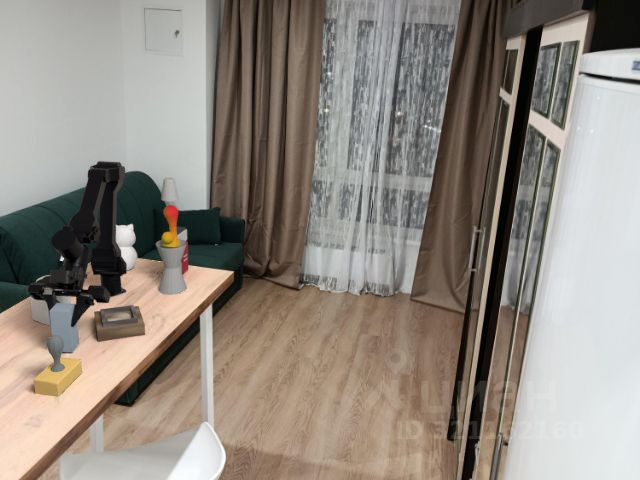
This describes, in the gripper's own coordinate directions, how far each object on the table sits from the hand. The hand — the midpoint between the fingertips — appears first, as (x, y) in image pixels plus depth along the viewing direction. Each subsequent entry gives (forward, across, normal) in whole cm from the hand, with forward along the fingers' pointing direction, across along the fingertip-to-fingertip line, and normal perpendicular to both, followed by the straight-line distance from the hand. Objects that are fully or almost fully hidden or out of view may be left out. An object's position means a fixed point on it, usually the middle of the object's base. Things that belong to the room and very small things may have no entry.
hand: (61, 326), depth 144 cm
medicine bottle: (-7, -10, +17) cm, 21 cm away
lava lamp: (-23, +18, +33) cm, 44 cm away
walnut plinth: (-4, +10, +14) cm, 18 cm away
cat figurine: (-33, -2, +43) cm, 54 cm away
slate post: (+4, 0, +6) cm, 7 cm away
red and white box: (-30, +17, +41) cm, 53 cm away
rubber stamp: (+15, +4, -4) cm, 16 cm away
